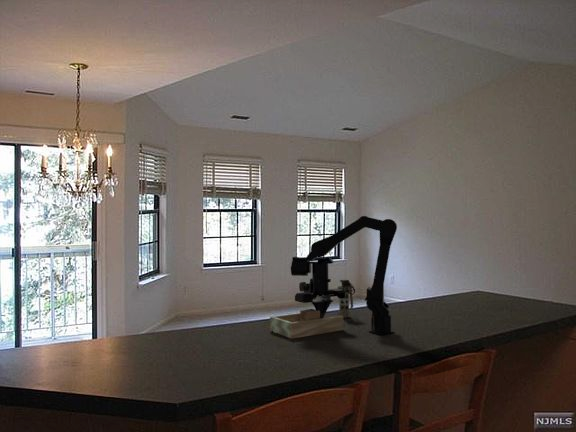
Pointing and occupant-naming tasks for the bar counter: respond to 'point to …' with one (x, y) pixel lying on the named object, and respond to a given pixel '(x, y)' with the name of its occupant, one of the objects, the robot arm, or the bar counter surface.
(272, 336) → the bar counter surface
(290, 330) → the box
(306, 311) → the walnut block
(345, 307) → the grenade model
